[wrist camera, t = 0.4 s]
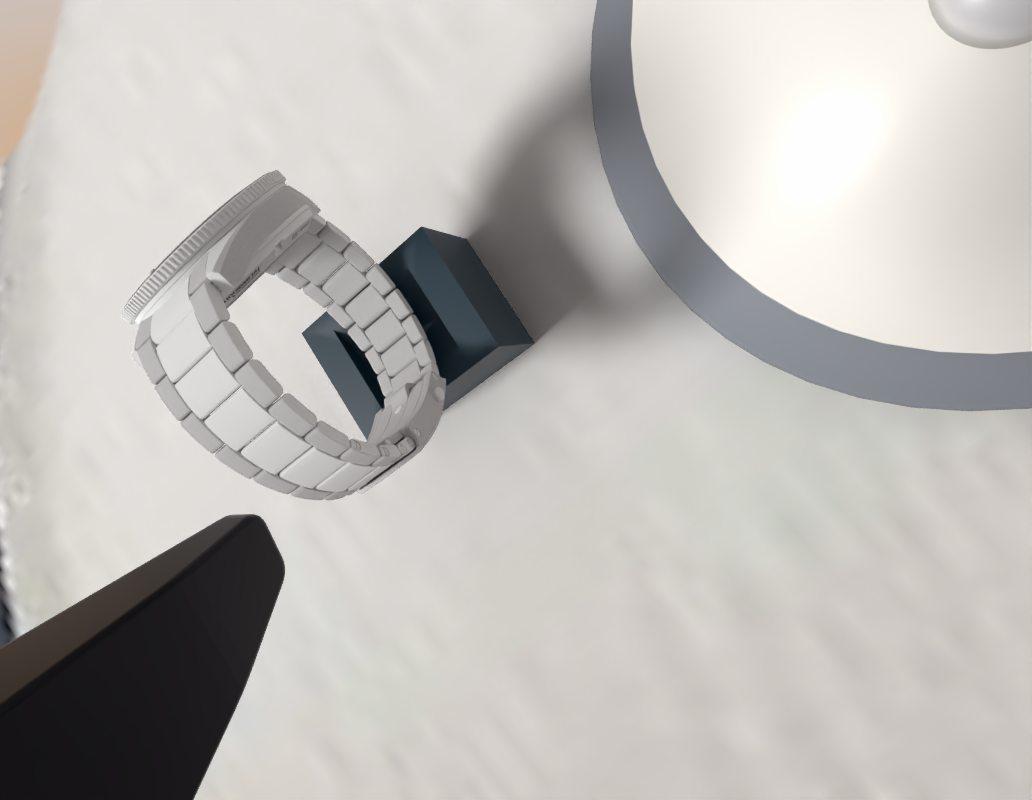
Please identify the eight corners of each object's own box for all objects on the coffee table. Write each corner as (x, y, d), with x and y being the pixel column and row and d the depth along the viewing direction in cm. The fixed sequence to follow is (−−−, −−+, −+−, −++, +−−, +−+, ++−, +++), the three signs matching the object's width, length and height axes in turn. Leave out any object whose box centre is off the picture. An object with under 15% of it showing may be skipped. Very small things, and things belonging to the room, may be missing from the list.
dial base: (1840, -109, 12) (2001, -173, 10) (947, 544, 18) (964, 565, 17) (989, -569, 15) (1014, -669, 14) (485, 114, 22) (464, 98, 20)
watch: (436, 193, 23) (160, 86, 12) (563, 387, 22) (381, 445, 11) (328, 290, 25) (15, 267, 14) (441, 471, 24) (194, 584, 13)
